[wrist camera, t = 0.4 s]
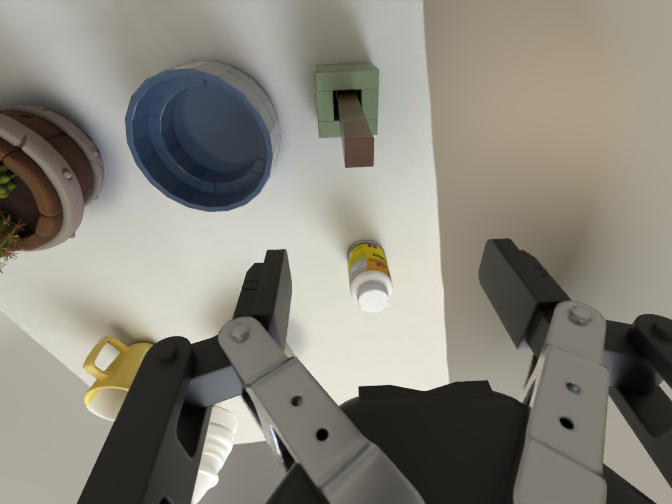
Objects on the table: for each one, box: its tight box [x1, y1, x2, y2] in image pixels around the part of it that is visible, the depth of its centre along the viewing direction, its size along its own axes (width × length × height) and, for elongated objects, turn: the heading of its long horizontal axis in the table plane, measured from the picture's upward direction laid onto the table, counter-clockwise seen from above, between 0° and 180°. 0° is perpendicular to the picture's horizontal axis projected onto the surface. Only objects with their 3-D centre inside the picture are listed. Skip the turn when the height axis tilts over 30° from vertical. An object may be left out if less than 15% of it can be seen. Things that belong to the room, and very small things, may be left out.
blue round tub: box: [125, 61, 281, 212], centre depth 36 cm, size 14×14×8 cm
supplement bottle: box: [347, 241, 393, 313], centre depth 45 cm, size 6×6×10 cm
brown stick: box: [336, 90, 374, 168], centre depth 29 cm, size 2×2×20 cm
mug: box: [83, 336, 153, 421], centre depth 56 cm, size 14×10×10 cm
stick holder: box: [315, 62, 379, 138], centre depth 35 cm, size 6×6×6 cm
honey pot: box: [191, 406, 238, 504], centre depth 68 cm, size 13×13×18 cm
